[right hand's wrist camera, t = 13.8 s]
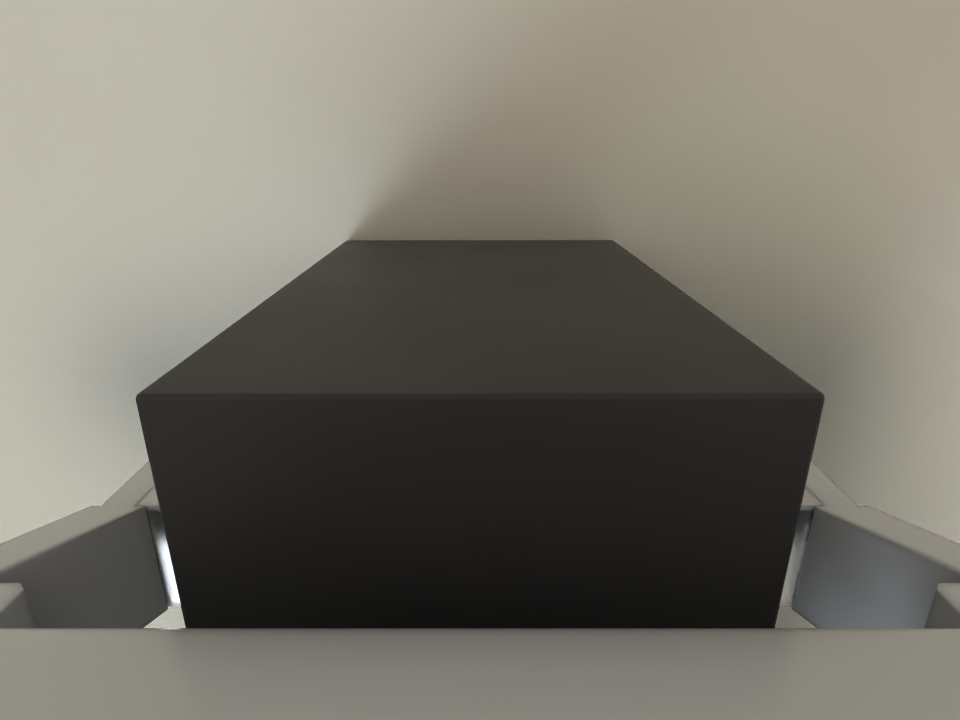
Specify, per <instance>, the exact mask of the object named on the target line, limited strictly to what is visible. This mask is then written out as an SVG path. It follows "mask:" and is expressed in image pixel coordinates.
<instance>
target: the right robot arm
mask: <svg viewBox="0 0 960 720" xmlns="http://www.w3.org/2000/svg"><path fill="white" fill-rule="evenodd" d="M168 606H181V603H180V599H179V594H178V590H177V585H176V581H175V576H174V571H173V567H172V562H171V558H170V553H169V549H168V544H167V540H166V535H165V530H164V526H163V521H162V517H161V512H160V508H159V503H158V498H157V494H156V489H155V485H154V480H153V476H152V471H151V467H150V462H149V461H148V462H147V463H146V464H145V465H144V466H143V467H142V468H141V469H140V470H139V471H138V472H137V473H136V474H135V475H134V476H133V477H131V478H130V479H129V480H128V481H127V482H126V483H125V484H124V485H123V486H122V487H121V488H120V489H119V490H118V491H117V492H116V493H115V494H114V495H112V496H111V497H110V498H109V499H108V500H107V501H106V502H105V503H104V504H103V505H102V506H91V507H88V508H86V509H83V510H81V511H79V512H76V513H74V514H71V515H69V516H67V517H64V518H62V519H59V520H57V521H54V522H52V523H50V524H47V525H45V526H42V527H40V528H38V529H35V530H33V531H30V532H28V533H26V534H23V535H21V536H18V537H16V538H13V539H11V540H9V541H6V542H4V543H1V544H0V720H960V544H958V543H956V542H953V541H951V540H949V539H946V538H944V537H941V536H939V535H937V534H934V533H932V532H929V531H927V530H925V529H922V528H920V527H917V526H915V525H913V524H910V523H908V522H905V521H903V520H901V519H898V518H896V517H893V516H891V515H888V514H886V513H884V512H881V511H879V510H876V509H874V508H872V507H869V506H858V505H857V504H856V503H855V502H854V501H853V500H852V499H851V498H850V497H849V496H848V495H846V494H845V493H844V492H843V491H842V490H841V489H840V488H839V487H838V486H837V485H836V484H835V483H834V482H833V481H832V480H831V479H830V478H829V477H828V476H826V475H825V474H824V473H823V472H822V471H821V470H820V469H819V468H818V467H817V466H816V465H815V464H814V463H813V462H812V461H811V463H810V468H809V472H808V477H807V481H806V486H805V491H804V495H803V500H802V504H801V509H800V514H799V518H798V523H797V527H796V532H795V536H794V541H793V546H792V550H791V555H790V559H789V564H788V569H787V573H786V578H785V582H784V587H783V592H782V596H781V601H780V605H779V606H792V609H793V610H794V611H795V612H797V613H798V614H799V615H801V616H802V617H803V618H805V619H806V620H807V621H809V622H810V623H811V624H812V625H814V626H815V627H816V628H144V627H145V626H146V625H148V624H149V623H150V622H152V621H153V620H154V619H156V618H157V617H158V616H159V615H161V614H162V613H163V612H165V611H166V610H167V609H168Z"/></svg>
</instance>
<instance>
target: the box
mask: <svg viewBox="0 0 960 720" xmlns="http://www.w3.org/2000/svg"><path fill="white" fill-rule="evenodd" d="M136 403H137V407H138V412H139V416H140V421H141V425H142V430H143V435H144V439H145V444H146V448H147V453H148V457H149V462H150V467H151V471H152V476H153V480H154V485H155V489H156V494H157V498H158V503H159V508H160V512H161V517H162V521H163V526H164V530H165V535H166V540H167V544H168V549H169V553H170V558H171V562H172V567H173V571H174V576H175V581H176V585H177V590H178V594H179V599H180V603H181V608H182V612H183V617H184V622H185V626H186V628H775V624H776V619H777V614H778V610H779V605H780V601H781V596H782V592H783V587H784V582H785V578H786V573H787V569H788V564H789V559H790V555H791V550H792V546H793V541H794V536H795V532H796V527H797V523H798V518H799V514H800V509H801V504H802V500H803V495H804V491H805V486H806V481H807V477H808V472H809V468H810V463H811V459H812V454H813V449H814V445H815V440H816V436H817V431H818V426H819V422H820V417H821V413H822V408H823V403H824V395H823V394H822V393H821V392H820V391H818V390H817V389H816V388H814V387H813V386H811V385H810V384H809V383H807V382H806V381H805V380H803V379H802V378H800V377H799V376H798V375H796V374H795V373H794V372H792V371H791V370H789V369H788V368H787V367H785V366H784V365H783V364H781V363H780V362H779V361H777V360H776V359H774V358H773V357H772V356H770V355H769V354H768V353H766V352H765V351H763V350H762V349H761V348H759V347H758V346H757V345H755V344H754V343H752V342H751V341H750V340H748V339H747V338H746V337H744V336H743V335H742V334H740V333H739V332H737V331H736V330H735V329H733V328H732V327H731V326H729V325H728V324H726V323H725V322H724V321H722V320H721V319H720V318H718V317H717V316H715V315H714V314H713V313H711V312H710V311H709V310H707V309H706V308H705V307H703V306H702V305H700V304H699V303H698V302H696V301H695V300H694V299H692V298H691V297H689V296H688V295H687V294H685V293H684V292H683V291H681V290H680V289H678V288H677V287H676V286H674V285H673V284H672V283H670V282H669V281H667V280H666V279H665V278H663V277H662V276H661V275H659V274H658V273H657V272H655V271H654V270H652V269H651V268H650V267H648V266H647V265H646V264H644V263H643V262H641V261H640V260H639V259H637V258H636V257H635V256H633V255H632V254H630V253H629V252H628V251H626V250H625V249H624V248H622V247H621V246H620V245H618V244H617V243H615V242H614V241H612V240H538V241H346V242H344V243H343V244H342V245H340V246H339V247H338V248H336V249H335V250H333V251H332V252H331V253H329V254H328V255H327V256H325V257H324V258H323V259H321V260H320V261H318V262H317V263H316V264H314V265H313V266H312V267H310V268H309V269H308V270H306V271H305V272H304V273H302V274H301V275H299V276H298V277H297V278H295V279H294V280H293V281H291V282H290V283H289V284H287V285H286V286H284V287H283V288H282V289H280V290H279V291H278V292H276V293H275V294H274V295H272V296H271V297H269V298H268V299H267V300H265V301H264V302H263V303H261V304H260V305H259V306H257V307H256V308H255V309H253V310H252V311H250V312H249V313H248V314H246V315H245V316H244V317H242V318H241V319H240V320H238V321H237V322H235V323H234V324H233V325H231V326H230V327H229V328H227V329H226V330H225V331H223V332H222V333H220V334H219V335H218V336H216V337H215V338H214V339H212V340H211V341H210V342H208V343H207V344H205V345H204V346H203V347H201V348H200V349H199V350H197V351H196V352H195V353H193V354H192V355H191V356H189V357H188V358H186V359H185V360H184V361H182V362H181V363H180V364H178V365H177V366H176V367H174V368H173V369H171V370H170V371H169V372H167V373H166V374H165V375H163V376H162V377H161V378H159V379H158V380H156V381H155V382H154V383H152V384H151V385H150V386H148V387H147V388H146V389H144V390H143V391H142V392H140V393H139V394H137V396H136Z"/></svg>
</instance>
